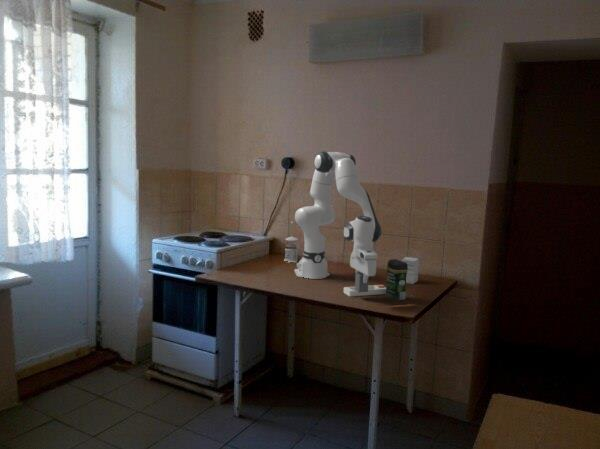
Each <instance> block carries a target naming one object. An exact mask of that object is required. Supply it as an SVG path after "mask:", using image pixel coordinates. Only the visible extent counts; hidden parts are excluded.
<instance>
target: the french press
mask: <svg viewBox="0 0 600 449" xmlns="http://www.w3.org/2000/svg"><path fill="white" fill-rule="evenodd" d="M294 223H295V222H294V221H290V224H294ZM284 240H285V241H287V242H291V243H290V244H286V245H285V248H284V252H285V254H284V259H283V260H284V261H288V262H287V263H290V262H294V263H298V262H299V261H298V260H299V259H298V254H299V253H300V251H299V247H298V246H300V245H299V243H298V242H297V241H299V239H298V237H294V236H293V235H291V236H288V237H286V238H285V239H284ZM293 242H294V244H293ZM284 261H283V262H284ZM297 261H298V262H297Z"/></svg>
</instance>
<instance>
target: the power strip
mask: <svg viewBox="0 0 600 449" xmlns="http://www.w3.org/2000/svg"><path fill="white" fill-rule="evenodd" d="M386 287H387V286H385V285H384V284H375V285H368V292H358V291H356V290H355V286H344V287H343V293H344V294H345V295H347V296H348V297H361V296H362V297H363V296H377V295H386Z"/></svg>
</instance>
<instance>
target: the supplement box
mask: <svg viewBox="0 0 600 449" xmlns="http://www.w3.org/2000/svg"><path fill="white" fill-rule="evenodd" d="M401 261H402V262H405V263H407V265H408V270H407V275H406V284H411V285H414V284H415V283H417V282H418V281H419V280H418V279H419V263H420V259H419V258H417V257H410V256H409V257H408V256H405V257H404V258H402V259H401Z"/></svg>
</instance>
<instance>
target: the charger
mask: <svg viewBox="0 0 600 449" xmlns="http://www.w3.org/2000/svg"><path fill="white" fill-rule="evenodd" d="M354 275H355V278H354V279H355V280H354V281H355V282H354V287H355V290H356V291H358V292H368V286H369V277H370V276H369V277H368V279H367V283H363V282H362V279H363V277H364V276H363V273H361V272H360V273H356V272H355V274H354Z"/></svg>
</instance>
